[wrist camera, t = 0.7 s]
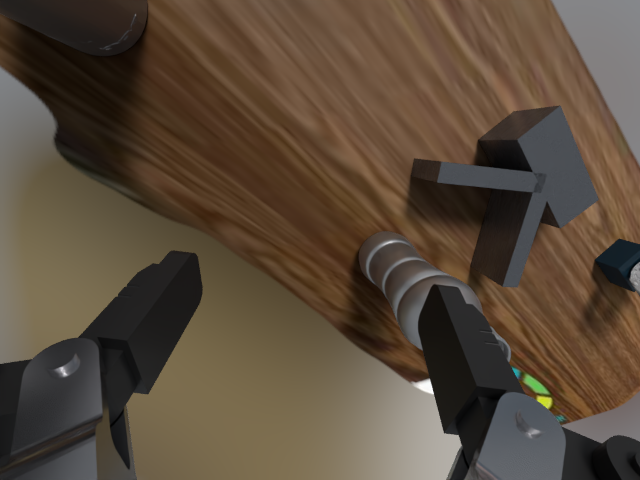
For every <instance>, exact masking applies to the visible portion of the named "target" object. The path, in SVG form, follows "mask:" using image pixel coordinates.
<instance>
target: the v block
mask: <svg viewBox="0 0 640 480" xmlns="http://www.w3.org/2000/svg"><path fill="white" fill-rule="evenodd" d="M478 141H479V142H480V144H481V146H482V148H483V150H484V152H485V154H486V155H487V157H488V159H489V161H490V163H491V165H492V167H493V168H492V167H483V166H475V165H466V164H457V163H449V162H440V161H431V160H423V159H414V163H413V168H412V173H411V176H413V177H417V178H421V179H425V180H429V181H433V182H437V183H446V184H456V185H466V186H476V187H485V188H492V192H491V195H490V199H489V203H488V206H487V210H486V213H485V217H484V220H483V224H482V227H481V231H480V235H479V238H478V242H477V245H476V249H475V252H474V256H473V259H472V263H471V267H472V268H474V269H475V270H477V271H479V272H480V273H482V274H483V275H485V276H486V277H488V278H490V279H491V280H493V281H494V282H496V283H497V284H499V285H501V286H502V287H518V284H519V281H520V278H521V275H522V272H523V269H524V267H525V264H526V261H527V258H528V255H529V252H530V249H531V246H532V243H533V240H534V237H535V234H536V231H537V228H538V225H539V222H541V223H544V224H548V225H551V226H554V227H558V228H562V227H563V226H564V225H566V224H567V223H568V222H570V221H571V220H572V219H574V218H575V217H576V216H578V215H579V214H580V213H582V212H583V211H584V210H586V209H587V208H588V207H590V206H591V205H592V204H594V203H595V202H596V201H598V200H599V199H598V196H597V194H596V192H595V189H594V187H593V184H592V182H591V179H590V177H589V174H588V172H587V170H586V167H585V165H584V162H583V160H582V157H581V155H580V152H579V150H578V147H577V145H576V143H575V140H574V138H573V135H572V133H571V130H570V128H569V125H568V123H567V121H566V118H565V116H564V113H563V111H562V108H561V106H553V107H545V108H538V109H530V110H522V111H514V112H512V113H511V114H510V115H509V116H507V117H506V118H505V119H504V120H502V121H501V122H500V123H499V124H497V125H496V126H495V127H494V128H492V129H491V130H490V131H489V132H488V133H486V134H485V135H484V136H483V137H481V138H480V139H479V140H478Z"/></svg>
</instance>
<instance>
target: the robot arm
mask: <svg viewBox="0 0 640 480" xmlns="http://www.w3.org/2000/svg"><path fill="white" fill-rule="evenodd" d="M0 14H2V15H4V16H6V17H9V18H11V19H13V20H15V21H17V22H19V23H21V24H24V25H26V26H28V27H30V28H32V29H34V30H36V31H39V32H41V33H43V34H45V35H47V36H49V37H51V38H53V39H55V40H58V41H60V42H62V43H64V44H66V45H68V46H70V47H73V48H75V49H77V50H79V51H81V52H84V53H88V54H91V55H97V56H111V55H117V54H119V53H122V52H124V51H126V50H128V49H129V48H130V47H132V46H133V45H134V44H135V43H136V42H137V40H138V39H139V38H140V37H141V34H142V32H143V30H144V28H145V24H146V19H147V0H0ZM201 297H202V282H201V274H200V268H199V262H198V257H197V255H196V254H195V253H189V252H180V251H170V252H169V253H168V254H167V255H166V257H165V258H164V259H163V260H162V261H161V262H160V264H152V265H150V266H148V267H146V268H145V269H143V270H141V271H140V272H138V273H137V274H136V275H135V276H134V277H133V278H132V280H131V281H130V282H129V283H128V284H127V287H124V288H123V289H122V290H121V292H120V293H119V294H118V297H115V298H114V299H113V300H112V301H111V302H110V304H109V305H108V306H107V307H106V308H105V309H104V310H103V311H102V312H101V313H100V314H99V316H98V317H97V318H96V319H95V320H94V321H93V322H92V323H91V324H90V325H89V327H88V328H87V329H86V330H85V331H84V332H83V333H82V334H81V335H80V336H79V337H78V338H72V339H67V340H63V341H61V342H58V343H56V344H54V345H51V346H50V347H48V348H46V349H44V350H43V351H42V352H40V353H39V354H38V355H37V356H35V357H34V358H33V359H31V360H24V361H18V362H11V363H4V364H0V480H137V478H136V473H135V466H134V459H133V450H132V442H131V434H130V427H129V419H128V411H127V406H126V403H127V402H128V400H129V399H130V397H131V395H132V394H133V393H141V394H149V392H150V390H151V388H152V387H153V385H154V383H155V381H156V380H157V378H158V376H159V374H160V372H161V371H162V369H163V367H164V365H165V364H166V362H167V360H168V358H169V357H170V355H171V353H172V351H173V350H174V348H175V346H176V344H177V342H178V341H179V339H180V337H181V335H182V334H183V332H184V330H185V328H186V327H187V325H188V323H189V321H190V319H191V318H192V316H193V314H194V312H195V311H196V309H197V307H198V305H199V303H200V300H201ZM418 333H419V337H420V341H421V345H422V349H423V353H424V357H425V361H426V365H427V369H428V372H429V376H430V380H431V384H432V388H433V392H434V396H435V400H436V403H437V407H438V411H439V415H440V419H441V423H442V427H443V431H444V433H446V434H454V435H459V437H460V441H461V444H462V446H461V447H460V449H459V451H458V453H457V455H456V458H455V461H454V463H453V465H452V467H451V470H450V472H449V474H448V477H447V479H446V480H640V442H639V441H637V440H635V439H632V438H630V437H626V436H620V435H617V436H613V437H611V438H609V439H608V440H607V441H605V442H604V443H602V444H601V443H599V442H597V441H594V440H592V439H590V438H587V437H585V436H582V435H580V434H578V433H575V432H573V431H570V430H568V429H566V428H564V427H562V426H561V425H560V424H559V422H558V421H557V419H556V418H555V417H554V415H553V414H552V413H551V412H550V411H549V410H548V409H547V408H546V407H545V406H543V405H542V404H541V403H539V402H538V401H537V400H535V399H533V398H531V397H529V396H527V395H526V394H525V393H524V391H523V389H522V387H521V385H520V383H519V381H518V379H517V377H516V375H515V373H514V372H513V370H512V368H511V366H510V364H509V362H508V360H507V358H506V356H505V354H504V352H503V350H502V348H501V347H500V346H499V345H498V341H497V339H496V337H495V335H494V334H492V329H491V327H490V325H489V323H488V322H487V320H486V318H485V316H484V315H483V314H482V313H481V312H480V311H479V310H478V309H477V308H476V307H475V306H474V305H473V304H466V301H465V299H464V297H463V295H462V293H461V291H460V289H459V288H458V287H455V286H447V285H439V284H433V285H432V286H431V288H430V290H429V293H428V295H427V298H426V300H425V303H424V305H423V307H422V310H421V312H420V315H419V319H418Z"/></svg>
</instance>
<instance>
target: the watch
mask: <svg viewBox="0 0 640 480" xmlns="http://www.w3.org/2000/svg"><path fill="white" fill-rule="evenodd" d="M595 261H596V263H597V264H598V265H599V267H600V268H601V270H602V271H603V273H604V274H605V275H606V277H607V278H608V280H609V281H610V282H611V283H613V284H616V285H618V286H621V287H623V288H625V289H628V290H630V291H633V292H635V291H636V292H637V293H638V295H639V296H640V244H637V243H633V242H629V241H626V240H622V239H618V240H617V241H616V242H615V243H614V244H613V245H611V246H610V247H609V248H608V249H607V250H606V251H605V252H603V253H602V254H601V255H600V256H599V257H598V258H597V259H595Z"/></svg>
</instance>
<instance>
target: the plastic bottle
mask: <svg viewBox="0 0 640 480" xmlns="http://www.w3.org/2000/svg"><path fill="white" fill-rule="evenodd" d="M359 263H360V267H361V270H362V272H363V274H364V275H365V276H366V277H367V278H368V279H369V280H370V281H371V282H372V283H374V284H375V285H377V287H378V288H379V289H380V290H381V291H382V292H383V293H384V294H385V296H386V298H387V300H388V301H389V303H390V305H391V307H392V309H393V312H394V314H395V317H396V319H397V322H398V325H399V326H400V328H401V330H402V332H403V334H404V336H405V337H406V338H407V339H408V340H409V341H410V342H411V343H412V344H414V345H415V346H417V347H418V348H420V349H421V350H423V349H422V345H421V341H420V337H419V333H418V319H419V315H420V312H421V310H422V307H423V305H424V303H425V300H426V298H427V295H428V293H429V290H430V288H431V286H432V285H433V284H439V285H447V286H455V287H458V288H459V289H460V291H461V293H462V295H463V297H464V299H465V301H466V304H473V305H474V306H475V307H476V308H477V309H478V310H479V311H480V312H481V313H482V306H481V304H480V301H479V299H478V298H477V296H476V294H475V293H474V291H473V290H472V289H471V288H470V287H469V286H468V285H467V284H465V283H463V282H462V281H460V280H459V279H457V278H455V277H452V276H450V275H448V274H446V273H444V272H442V271H440V270H438V269H437V268H435V267H434V266H433V265H431V264H429V263H428V262H427V261H425V260H424V259H423V258H422V257H421V256H420V255H419V254H418V252H417V251H416V249H415V248H414V246H413V245H412V244H411V242H410V241H409V240H408V239H407V238H405V237H404V236H402V235H400V234H397V233H394V232H388V231H384V232H379V233H376V234H374V235H372V236H370V237H369V238H368V239H367V240H366V241H365V242H364V243H363V245H362V246H361V248H360V251H359ZM482 314H483V313H482ZM490 327H491V326H490ZM491 329H492V334H494V335H495V337H496V339H497V341H498V345H499V346H500V347H501V348H502V350H503V352H504V354H505V356H506V358H507V360H508V362H509V361H510V357H511V350H510V347H509V345H508V344H507V343H506V341H505V340H504V339H503V338H501V337H500V336H499V335H498V334H497V333H496V332H495V330H494V329H493V328H492V327H491Z"/></svg>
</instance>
